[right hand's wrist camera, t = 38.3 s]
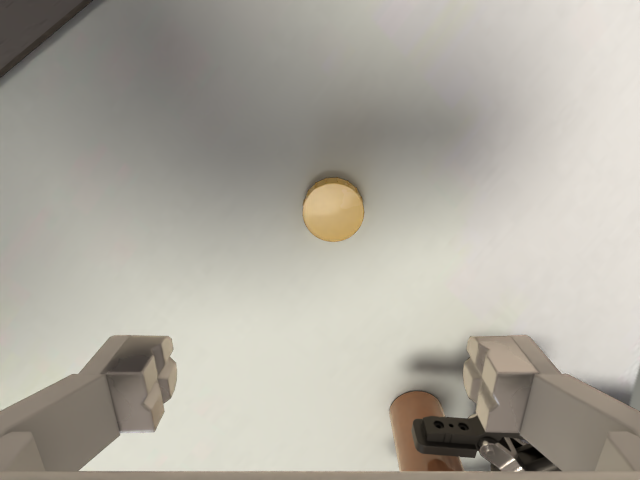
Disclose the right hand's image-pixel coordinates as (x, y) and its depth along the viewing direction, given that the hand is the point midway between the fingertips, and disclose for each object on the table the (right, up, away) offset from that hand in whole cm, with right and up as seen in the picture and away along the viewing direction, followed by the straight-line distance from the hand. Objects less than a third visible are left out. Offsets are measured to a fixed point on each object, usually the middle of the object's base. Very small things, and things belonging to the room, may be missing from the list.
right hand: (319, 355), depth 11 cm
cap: (+1, +5, +15) cm, 16 cm away
